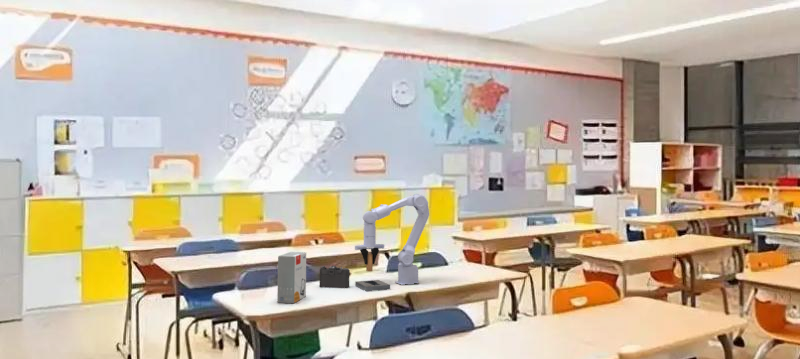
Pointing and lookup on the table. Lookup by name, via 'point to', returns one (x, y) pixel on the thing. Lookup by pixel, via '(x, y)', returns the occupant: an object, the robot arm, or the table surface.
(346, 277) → the camera
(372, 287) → the keyhole plate
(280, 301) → the hard drive box
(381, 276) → the table surface
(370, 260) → the peg
